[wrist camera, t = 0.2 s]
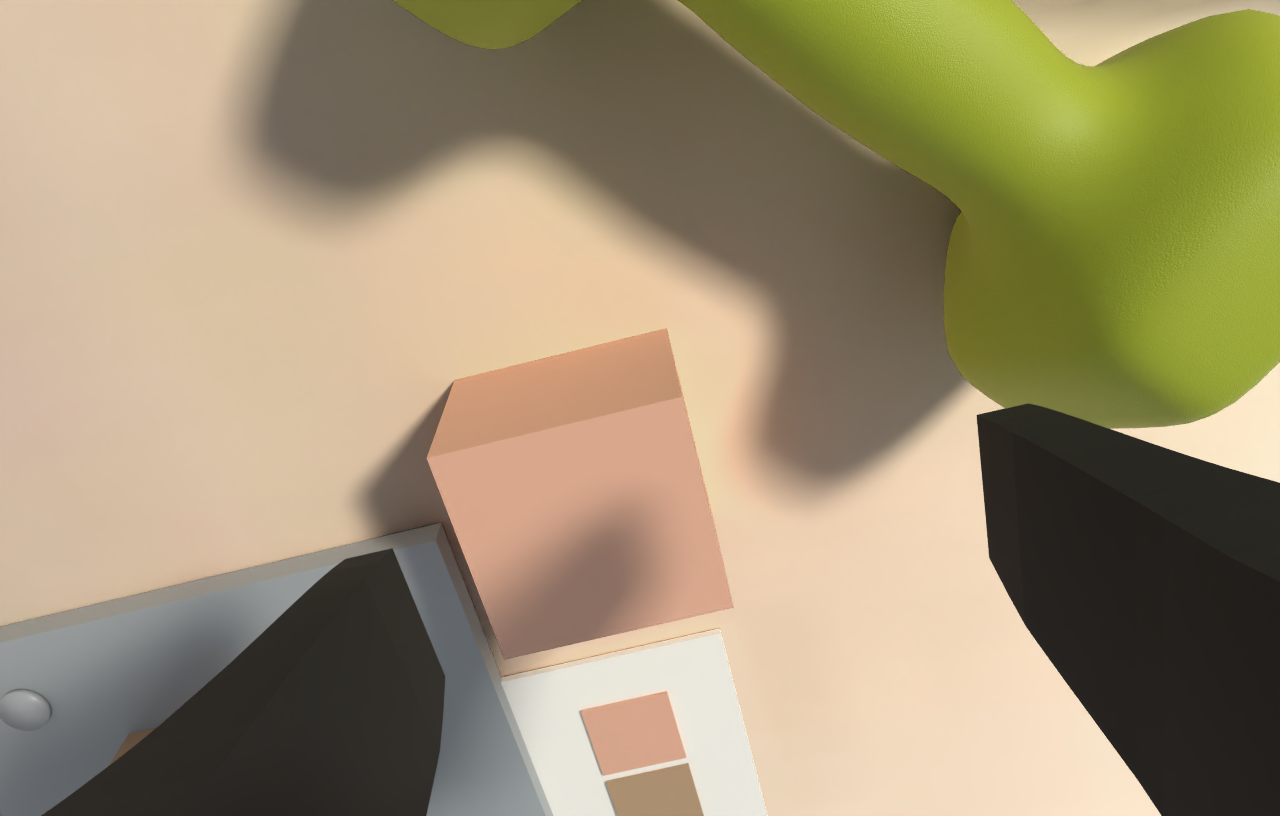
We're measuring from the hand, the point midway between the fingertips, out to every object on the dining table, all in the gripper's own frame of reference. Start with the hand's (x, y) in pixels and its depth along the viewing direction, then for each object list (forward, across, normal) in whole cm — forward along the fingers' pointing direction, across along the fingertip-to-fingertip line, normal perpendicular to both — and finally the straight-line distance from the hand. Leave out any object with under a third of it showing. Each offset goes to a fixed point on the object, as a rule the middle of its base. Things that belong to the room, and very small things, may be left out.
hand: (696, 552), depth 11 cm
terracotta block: (+10, +2, +3) cm, 11 cm away
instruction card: (+10, +3, +13) cm, 17 cm away
